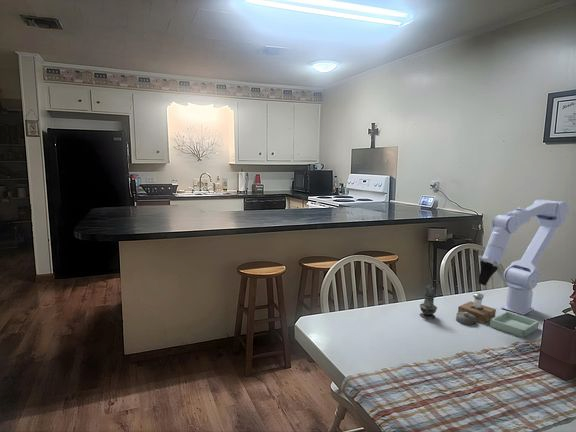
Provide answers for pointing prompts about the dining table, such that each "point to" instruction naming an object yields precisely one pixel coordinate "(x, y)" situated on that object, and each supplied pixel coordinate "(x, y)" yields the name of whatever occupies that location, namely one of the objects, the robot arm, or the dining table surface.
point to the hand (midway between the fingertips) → (481, 284)
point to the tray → (514, 324)
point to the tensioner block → (474, 314)
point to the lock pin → (477, 301)
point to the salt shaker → (428, 304)
